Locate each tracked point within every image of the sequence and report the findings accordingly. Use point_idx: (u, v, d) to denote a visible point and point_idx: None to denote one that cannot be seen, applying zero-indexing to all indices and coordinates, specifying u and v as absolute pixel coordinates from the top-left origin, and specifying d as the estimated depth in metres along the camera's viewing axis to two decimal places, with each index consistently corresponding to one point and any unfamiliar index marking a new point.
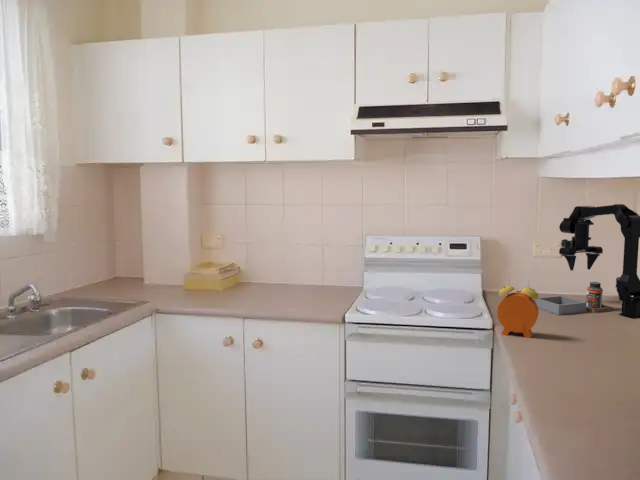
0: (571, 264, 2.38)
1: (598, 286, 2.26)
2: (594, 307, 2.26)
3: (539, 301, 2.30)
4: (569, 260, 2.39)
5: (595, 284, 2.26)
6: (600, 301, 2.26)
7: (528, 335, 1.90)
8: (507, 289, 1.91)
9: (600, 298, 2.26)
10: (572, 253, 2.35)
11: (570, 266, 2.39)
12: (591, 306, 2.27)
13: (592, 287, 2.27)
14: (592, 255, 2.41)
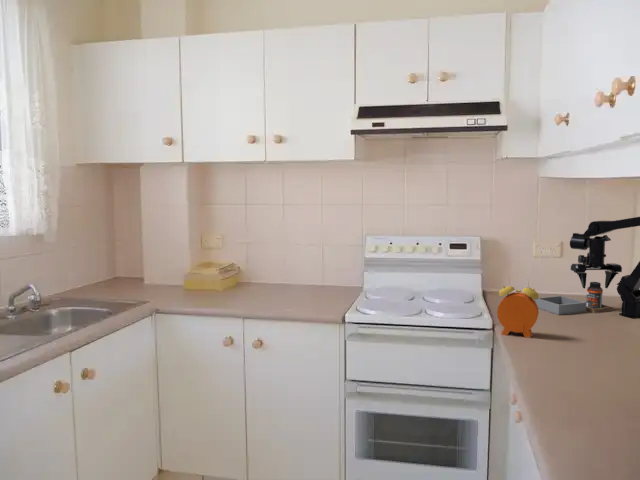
0: (582, 281, 2.27)
1: (598, 286, 2.26)
2: (594, 307, 2.26)
3: (539, 301, 2.30)
4: (581, 277, 2.28)
5: (595, 284, 2.26)
6: (600, 301, 2.26)
7: (528, 335, 1.90)
8: (507, 289, 1.91)
9: (600, 298, 2.26)
10: (581, 270, 2.24)
11: (582, 283, 2.28)
12: (591, 306, 2.27)
13: (592, 287, 2.27)
14: (609, 273, 2.26)
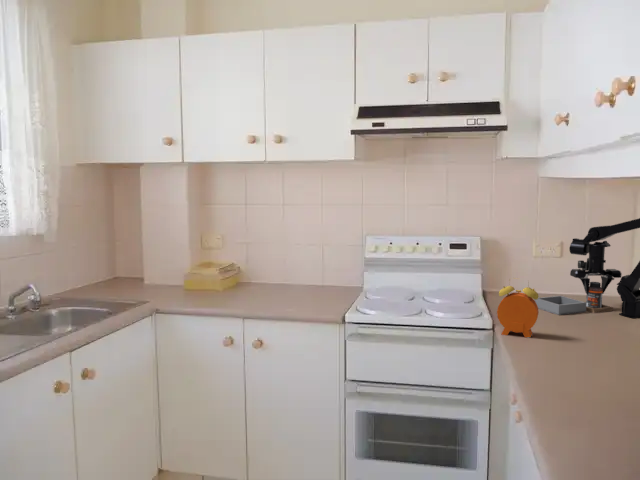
0: (585, 287, 2.27)
1: (598, 286, 2.26)
2: (594, 307, 2.26)
3: (539, 301, 2.30)
4: (584, 282, 2.28)
5: (595, 284, 2.26)
6: (600, 301, 2.26)
7: (528, 335, 1.90)
8: (507, 289, 1.91)
9: (600, 298, 2.26)
10: (581, 276, 2.25)
11: (585, 289, 2.28)
12: (591, 306, 2.27)
13: (592, 287, 2.27)
14: (605, 279, 2.26)
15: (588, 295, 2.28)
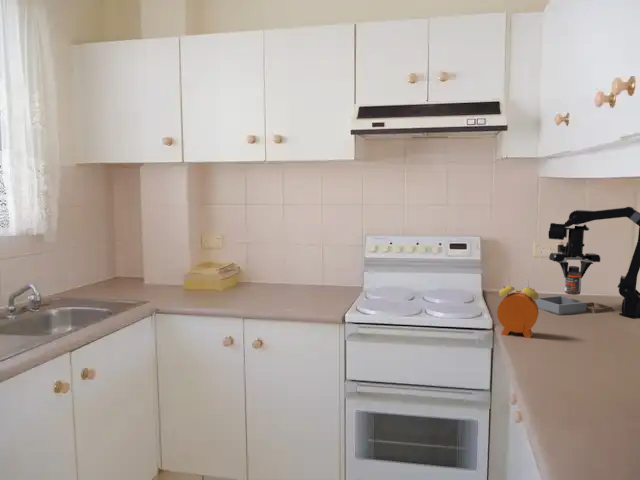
0: (564, 271, 2.26)
1: (576, 270, 2.25)
2: (572, 291, 2.26)
3: (539, 301, 2.30)
4: (563, 266, 2.27)
5: (573, 268, 2.25)
6: (579, 285, 2.25)
7: (528, 335, 1.90)
8: (507, 289, 1.91)
9: (578, 282, 2.25)
10: (559, 259, 2.24)
11: (564, 273, 2.27)
12: (570, 290, 2.26)
13: (570, 271, 2.26)
14: (584, 263, 2.25)
15: (567, 279, 2.27)
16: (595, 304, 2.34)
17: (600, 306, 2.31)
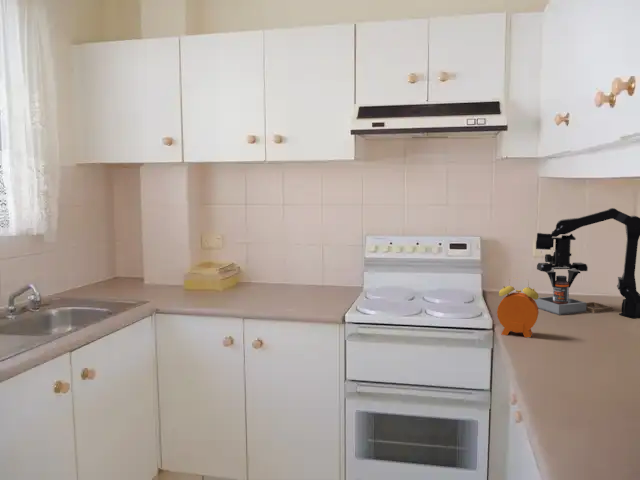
0: (552, 281, 2.26)
1: (564, 280, 2.25)
2: (561, 301, 2.25)
3: (539, 301, 2.30)
4: (551, 276, 2.27)
5: (561, 278, 2.25)
6: (566, 295, 2.25)
7: (528, 335, 1.90)
8: (507, 289, 1.91)
9: (566, 292, 2.25)
10: (547, 269, 2.23)
11: (551, 283, 2.27)
12: (558, 300, 2.26)
13: (558, 281, 2.26)
14: (571, 272, 2.25)
15: (554, 289, 2.27)
16: (595, 304, 2.34)
17: (600, 306, 2.31)
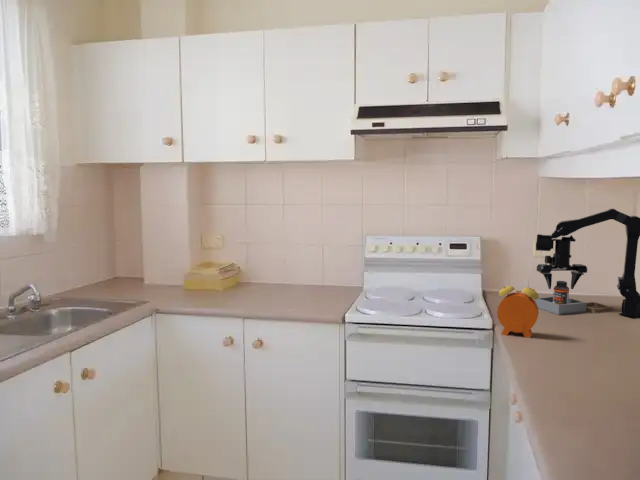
0: (548, 282, 2.26)
1: (564, 285, 2.25)
2: None
3: (539, 301, 2.30)
4: (547, 277, 2.27)
5: (561, 283, 2.25)
6: (566, 300, 2.25)
7: (528, 335, 1.90)
8: (507, 289, 1.91)
9: (566, 297, 2.25)
10: (547, 271, 2.24)
11: (548, 284, 2.27)
12: None
13: (558, 286, 2.26)
14: (575, 274, 2.25)
15: (554, 294, 2.27)
16: (595, 304, 2.34)
17: (600, 306, 2.31)
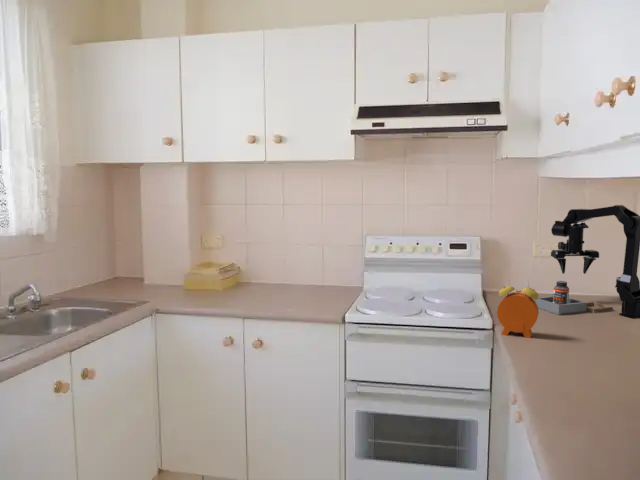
0: (562, 267, 2.37)
1: (564, 285, 2.25)
2: None
3: (539, 301, 2.30)
4: (561, 262, 2.38)
5: (561, 283, 2.25)
6: (566, 300, 2.25)
7: (528, 335, 1.90)
8: (507, 289, 1.91)
9: (566, 297, 2.25)
10: (561, 256, 2.35)
11: (561, 269, 2.38)
12: None
13: (558, 286, 2.26)
14: (587, 259, 2.37)
15: (554, 294, 2.27)
16: (595, 304, 2.34)
17: (600, 306, 2.31)
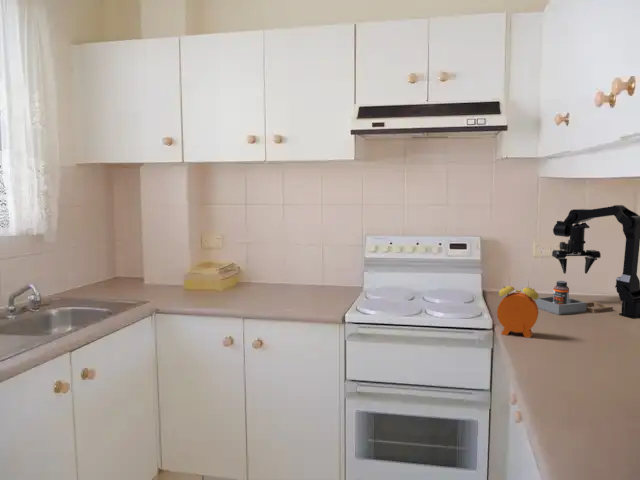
0: (563, 267, 2.38)
1: (564, 285, 2.25)
2: None
3: (539, 301, 2.30)
4: (562, 262, 2.39)
5: (561, 283, 2.25)
6: (566, 300, 2.25)
7: (528, 335, 1.90)
8: (507, 289, 1.91)
9: (566, 297, 2.25)
10: (562, 256, 2.35)
11: (563, 269, 2.39)
12: None
13: (558, 286, 2.26)
14: (589, 259, 2.37)
15: (554, 294, 2.27)
16: (595, 304, 2.34)
17: (600, 306, 2.31)
